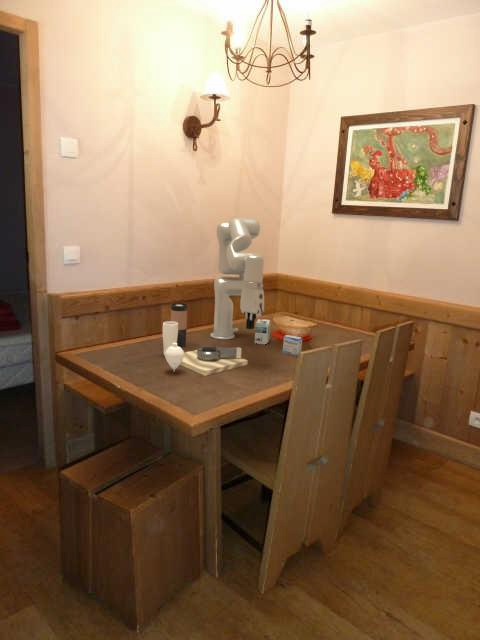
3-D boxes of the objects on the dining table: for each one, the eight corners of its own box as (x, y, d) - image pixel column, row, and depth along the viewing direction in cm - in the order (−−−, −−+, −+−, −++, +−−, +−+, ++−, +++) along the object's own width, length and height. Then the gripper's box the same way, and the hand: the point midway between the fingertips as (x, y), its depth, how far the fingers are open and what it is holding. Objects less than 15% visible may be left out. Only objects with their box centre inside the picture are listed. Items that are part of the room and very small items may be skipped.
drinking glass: (174, 358, 203) (175, 325, 200) (159, 356, 204) (160, 323, 201) (179, 354, 209) (180, 322, 206) (165, 352, 211) (165, 320, 207)
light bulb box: (267, 345, 233) (268, 324, 231) (254, 343, 234) (255, 323, 232) (269, 339, 243) (270, 319, 241) (256, 338, 244) (258, 318, 242)
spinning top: (174, 367, 192) (175, 339, 189) (187, 372, 187) (188, 343, 185) (160, 371, 186) (161, 342, 183) (173, 376, 182) (174, 346, 179)
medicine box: (282, 353, 220) (283, 336, 218) (285, 351, 224) (287, 334, 222) (297, 356, 217) (299, 339, 215) (301, 354, 220) (302, 337, 218)
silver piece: (197, 361, 194) (198, 349, 193) (196, 353, 204) (196, 342, 203) (242, 361, 198) (243, 349, 197) (238, 354, 207) (239, 343, 206)
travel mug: (187, 343, 227) (188, 303, 222) (184, 348, 219) (185, 306, 215) (172, 342, 227) (173, 302, 223) (168, 346, 220) (169, 305, 215)
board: (210, 351, 217) (211, 346, 217) (247, 364, 201) (247, 359, 200) (169, 360, 201) (169, 355, 200) (205, 375, 184) (205, 370, 184)
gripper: (272, 287, 188) (269, 331, 192) (246, 282, 198) (243, 323, 202) (260, 288, 182) (256, 333, 186) (233, 283, 193) (231, 326, 197)
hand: (250, 328), depth 194 cm, fingers closed
